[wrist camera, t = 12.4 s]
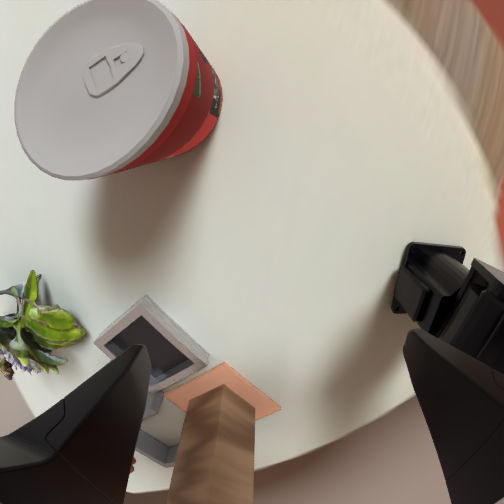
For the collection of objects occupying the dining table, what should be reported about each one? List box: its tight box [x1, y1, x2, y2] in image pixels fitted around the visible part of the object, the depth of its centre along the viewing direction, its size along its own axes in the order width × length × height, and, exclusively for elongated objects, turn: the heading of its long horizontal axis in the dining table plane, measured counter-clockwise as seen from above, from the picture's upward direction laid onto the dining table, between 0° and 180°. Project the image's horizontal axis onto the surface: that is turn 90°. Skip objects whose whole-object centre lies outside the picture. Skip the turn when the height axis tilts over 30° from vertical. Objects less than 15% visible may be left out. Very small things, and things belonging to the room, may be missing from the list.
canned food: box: [15, 0, 223, 180], centre depth 13 cm, size 8×8×11 cm
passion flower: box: [0, 270, 86, 380], centre depth 21 cm, size 11×11×12 cm
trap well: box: [94, 295, 210, 394], centre depth 25 cm, size 8×8×2 cm
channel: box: [135, 390, 179, 468], centre depth 29 cm, size 11×11×3 cm
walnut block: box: [167, 384, 255, 504], centre depth 22 cm, size 5×5×13 cm
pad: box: [163, 362, 281, 421], centre depth 28 cm, size 9×9×1 cm
